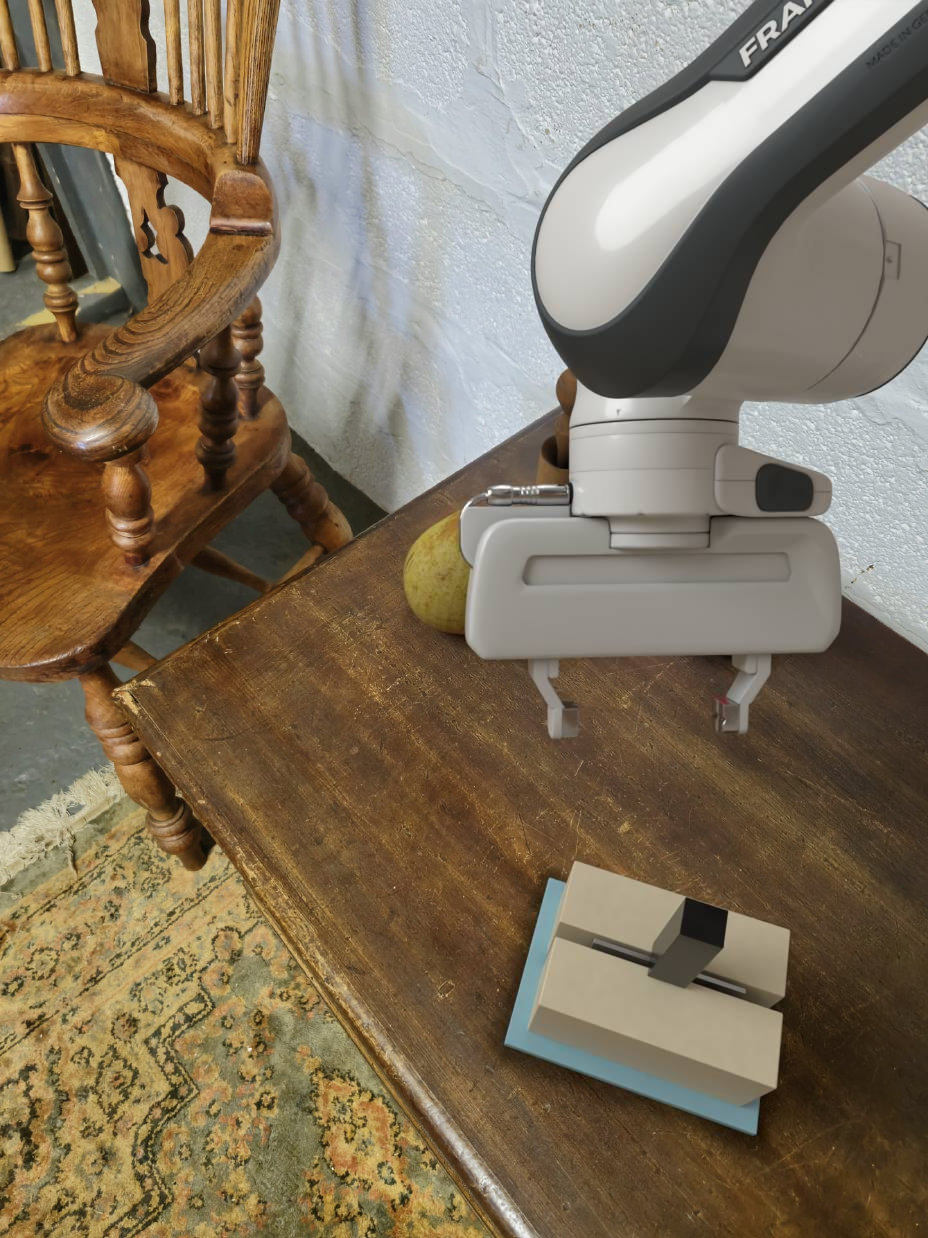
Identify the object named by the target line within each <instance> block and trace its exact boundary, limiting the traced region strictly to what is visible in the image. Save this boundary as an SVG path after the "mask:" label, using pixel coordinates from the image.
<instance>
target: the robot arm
mask: <svg viewBox="0 0 928 1238" xmlns="http://www.w3.org/2000/svg"><path fill="white" fill-rule="evenodd" d="M927 125H928V0H754V1H753V2H752V3H751V4H750V5H749V6H748V7H747V8H746V9H745V10H744V11H743V12H742V13H741V14H740V15H739V16H738V17H737V18H736V19H735V20H734V21H733V22H732V23H731V24H730V25H729V26H728V27H727V28H726V29H725V30H724V31H723V32H722V33H721V34H720V35H719V36H718V37H717V38H716V39H715V40H713V42H712V43H711V44H710V45H709V46H707V48H706V49H705V50H703V51H702V52H701V53H700V54H699V55H698V56H696V58H694V59H693V60H692V61H691V62H690V63H688V64H687V65H686V66H685V67H684V68H682V69H681V70H680V71H679V72H678V73H677V74H675V75H674V76H672V77H671V78H670V79H668V80H667V81H665V82H664V83H663V84H662V85H660V86H658V87H657V88H655V89H654V90H653V91H650V92H649V93H648V94H646V95H645V96H643V97H641V98H640V99H638V100H637V101H636V102H633V104H631V105H630V106H628V107H627V108H626V109H624V110H623V111H622V112H620V113H619V114H617V116H615V117H614V118H613V119H611V121H609V122H608V123H607V124H606V125H605V126H603V127H602V128H601V129H600V130H599V131H598V132H597V133H596V134H595V135H594V136H593V137H591V138H590V139H589V140H588V141H587V142H586V143H585V144H584V145H583V146H582V147H581V148H580V150H579V151H578V152H577V153H576V154H575V156H574V157H573V158H572V159H571V160H570V162H569V163H568V165H567V166H566V167H565V169H564V170H563V171H562V173H561V174H560V176H559V177H558V178H557V180H556V181H555V183H554V185H553V187H552V188H551V190H550V192H549V194H548V196H547V198H546V200H545V202H544V205H543V207H542V209H541V212H540V214H539V217H538V221H537V224H536V227H535V229H534V235H533V239H532V246H531V252H530V281H531V287H532V294H533V298H534V302H535V306H536V309H537V314H538V316H539V319H540V321H541V324H542V327H543V329H544V331H545V333H546V335H547V337H548V339H549V341H550V344H551V345H552V347H553V348H554V350H555V351H556V353H557V355H558V356H559V358H560V359H561V360H562V362H563V363H564V364H565V366H566V367H567V369H568V368H569V370H570V371H571V372H572V373H573V375H574V376H575V377H576V378H577V393H576V400H575V404H574V407H573V411H572V414H571V418H570V425H569V429H570V430H569V484H542V485H536V486H535V485H534V484H532V485H526V486H525V485H521V486H515V485H514V486H512V485H511V484H494V485H490V486H487V487H486V491H485V492H481V493H479V494H476V495H474V496H473V497H471V498H469V500H468V501H467V502H466V503H465V504H464V506H463V507H462V508H461V509H462V511H461V514H460V517H459V549H460V553H461V556H462V558H463V559H464V561H465V562H466V564H467V565H468V566H469V567H470V574H469V581H468V589H467V599H466V613H465V634H464V636H465V640H466V641H465V642H466V644H467V646H469V648H470V649H471V650H472V651H473V652H474V653H475V654H476V655H477V656H478V657H479V658H480V659H482V660H486V661H489V660H493V661H495V660H499V661H500V660H527V673H528V674H529V676H530V677H531V680H532V681H533V683H534V684H535V686H536V688H537V689H538V691H539V694H541V697H542V698H543V701H544V702H545V703H546V704H547V730H548V735H549V737H550V738H551V739H552V740H561V739H578V738H579V737H580V727H579V726H578V723H579V721H580V708H579V706H578V705H576V703H575V702H574V700H561V698H560V696H559V695H558V694H557V692H556V690H555V689H554V687H553V685H552V683H551V681H550V680H549V678H550V679H558V678H559V677H560V659H585V658H586V659H587V658H589V659H591V658H593V659H594V658H632V657H633V658H634V657H635V658H636V657H639V658H641V657H683V656H731V666H732V667H734V668H735V669H738V670H739V672H738V673H737V675H736V677H735V679H734V681H733V682H732V684H731V686H730V688H729V690H728V691H727V693H726V695H725V696H722V697H720V696H719V697H711V711H712V712H713V714H712V715H711V719H710V720H711V722H710V723H711V727H712V729H713V730H714V731H716V732H717V733H718V734H720V735H743V734H744V735H745V734H746V733H748V731H749V719H750V718H749V717H750V705H751V704H752V703H753V702H754V700H755V699H756V698H757V696H758V694H759V692H760V691H761V689H762V688H763V687H764V685H765V683H766V682H767V681H768V679H769V677H770V676H771V674H772V672H771V671H772V655H776V654H778V655H779V654H780V655H781V654H817V653H818V654H819V653H820V654H821V653H824V652H825V651H826V650H827V649H828V648H829V647H831V646H832V644H833V642H834V641H835V640H836V638H837V637H838V635H839V633H840V629H841V624H842V623H841V622H842V601H843V599H842V572H841V560H840V558H841V557H840V552H839V546H838V543H837V539H836V537H835V534H834V533H833V531H832V530H831V528H829V526H828V525H827V524H826V523H824V522H823V521H821V520H819V519H817V518H815V517H817V516H822V515H824V514H825V513H827V512H828V511H829V509H830V507H831V506H832V505H831V504H832V500H833V483H832V480H831V479H830V477H829V476H827V475H826V474H824V473H823V472H820V471H817V470H814V469H810V468H808V467H804V466H801V465H799V464H795V463H791V462H789V461H785V460H783V459H779V458H777V457H773V456H770V455H768V454H765V453H762V452H759V451H757V450H754V449H750V448H748V447H745V446H742V445H740V444H739V443H740V412H741V408H742V406H743V404H744V403H745V402H753V403H780V404H795V405H812V406H813V405H814V406H815V405H816V406H817V405H826V404H827V405H828V404H833V403H837V402H842V401H846V400H850V399H856V398H859V397H863V396H865V395H869V394H871V393H873V392H875V391H877V390H879V389H881V388H883V387H884V386H886V385H887V384H889V383H891V382H892V381H893V380H895V378H897V377H898V376H899V375H900V374H902V372H903V371H904V370H906V368H908V367H909V365H910V364H912V362H913V361H914V359H915V358H917V356H918V355H919V353H920V352H921V350H922V349H923V347H925V345H926V343H927V342H928V206H927V205H926V204H925V203H924V202H923V201H921V200H920V199H918V198H917V197H915V196H913V195H911V194H908V193H907V192H905V191H903V190H902V189H901V188H899V187H897V186H895V185H892V184H890V183H888V182H886V181H883V180H881V179H878V178H874V177H872V176H869V175H866V174H865V173H866V172H867V171H869V170H870V169H871V168H872V167H873V166H875V165H876V164H877V163H879V162H880V161H882V160H883V159H884V158H885V157H886V156H888V155H889V154H890V153H892V152H893V151H894V150H895V149H897V148H898V147H899V146H901V145H902V144H903V143H904V142H906V141H907V140H908V139H910V138H911V137H912V136H914V135H915V134H916V133H918V132H919V131H921V129H923V128H924V127H926V126H927ZM484 501H486V504H487V506H489V507H474V506H475V505H476V504H480V503H481V502H484ZM532 505H536V506H532ZM568 505H569V506H568ZM570 515H572V516H580V517H570ZM807 516H808V517H807Z"/></svg>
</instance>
